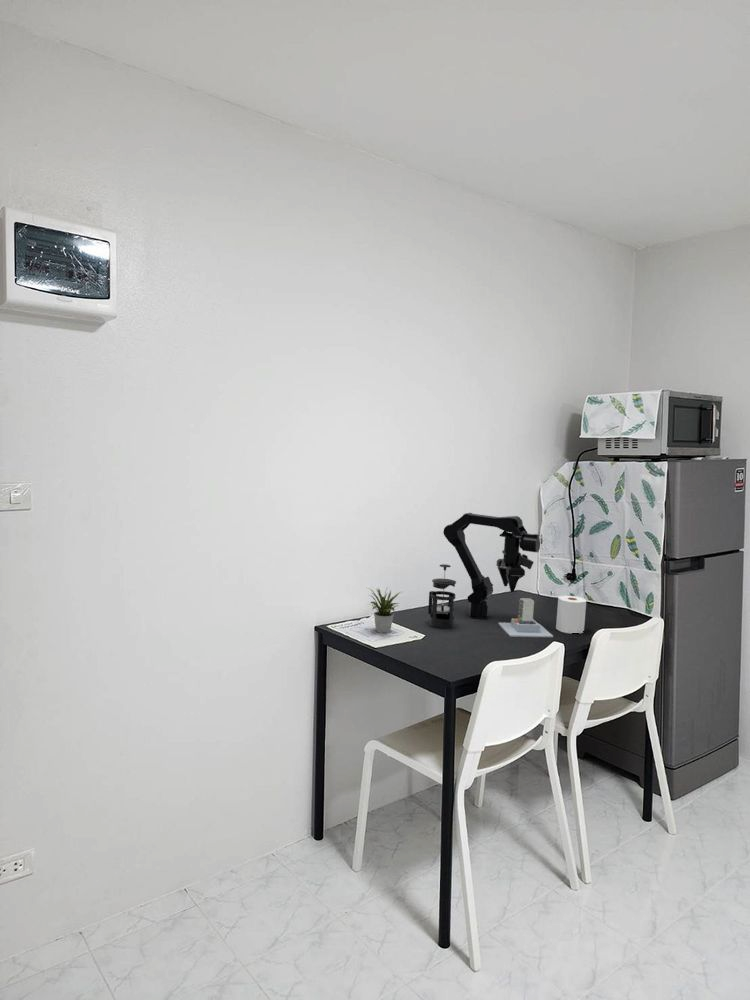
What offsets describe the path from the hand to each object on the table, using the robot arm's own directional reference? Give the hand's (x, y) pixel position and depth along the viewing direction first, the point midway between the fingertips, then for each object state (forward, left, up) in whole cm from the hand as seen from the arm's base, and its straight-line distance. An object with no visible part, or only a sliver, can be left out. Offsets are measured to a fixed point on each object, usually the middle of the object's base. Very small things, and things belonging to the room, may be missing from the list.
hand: (508, 589), depth 273 cm
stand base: (+4, -11, -13) cm, 17 cm away
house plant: (-51, -15, -13) cm, 55 cm away
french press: (-27, -6, -13) cm, 31 cm away
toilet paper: (+22, -9, -13) cm, 27 cm away
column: (+4, -11, -10) cm, 15 cm away
